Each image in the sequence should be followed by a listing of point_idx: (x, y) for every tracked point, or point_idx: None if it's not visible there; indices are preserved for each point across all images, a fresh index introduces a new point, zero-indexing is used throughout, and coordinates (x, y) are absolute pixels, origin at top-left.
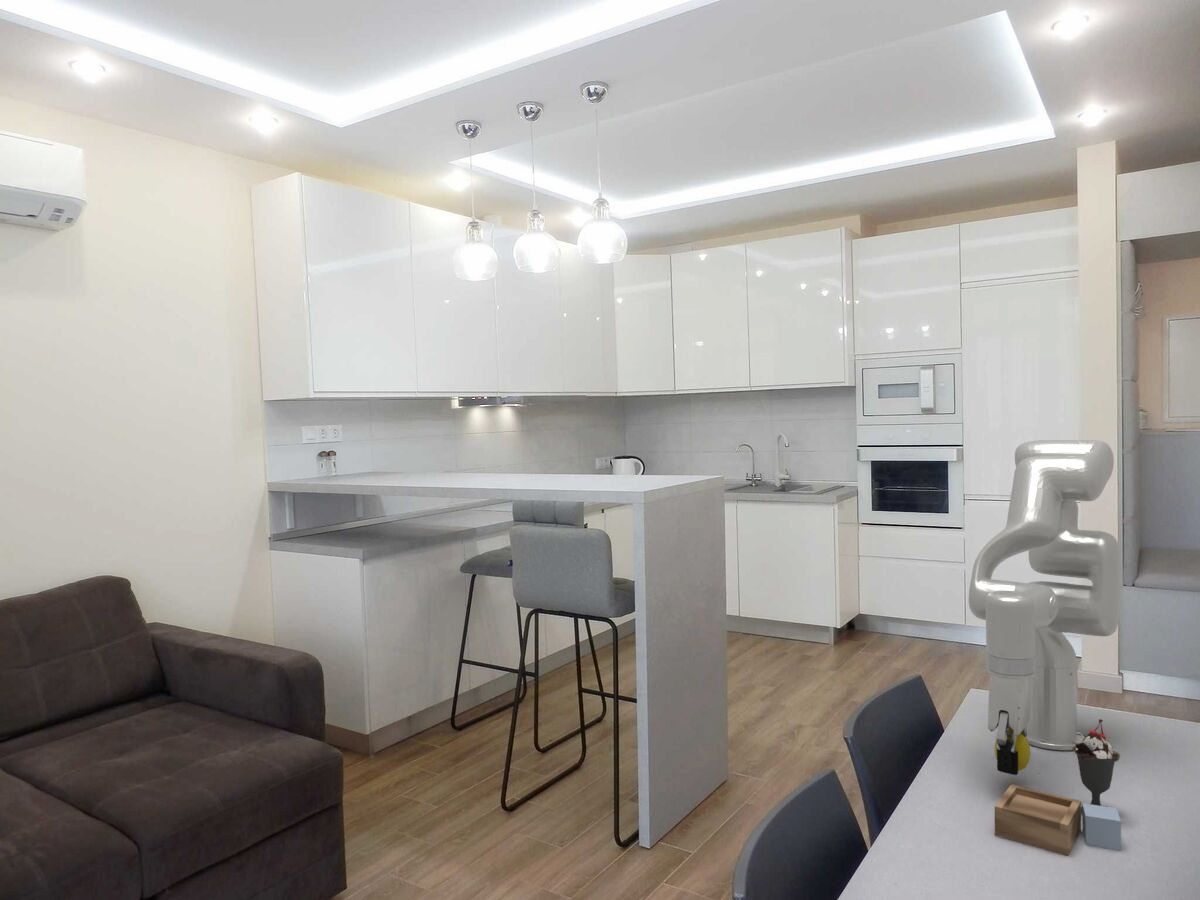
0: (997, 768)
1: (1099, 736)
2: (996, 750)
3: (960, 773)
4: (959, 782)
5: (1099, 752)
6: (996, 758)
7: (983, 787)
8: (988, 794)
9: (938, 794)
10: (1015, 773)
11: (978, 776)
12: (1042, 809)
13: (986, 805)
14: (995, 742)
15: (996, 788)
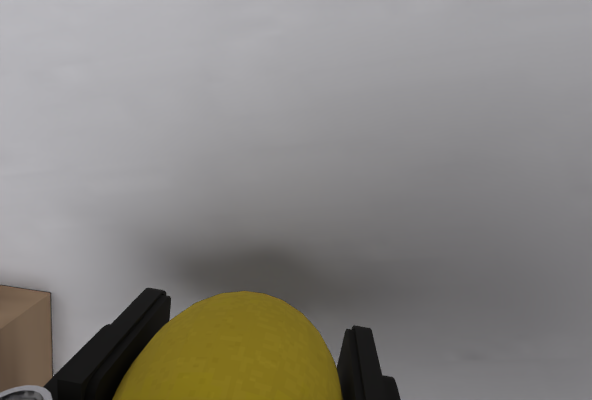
0: (146, 290)
1: None
2: (162, 337)
3: (331, 70)
4: (218, 81)
5: None
6: (213, 296)
7: (218, 183)
8: (157, 208)
9: (24, 8)
10: None
11: (332, 152)
12: None
13: (46, 210)
14: (194, 360)
15: (236, 230)
